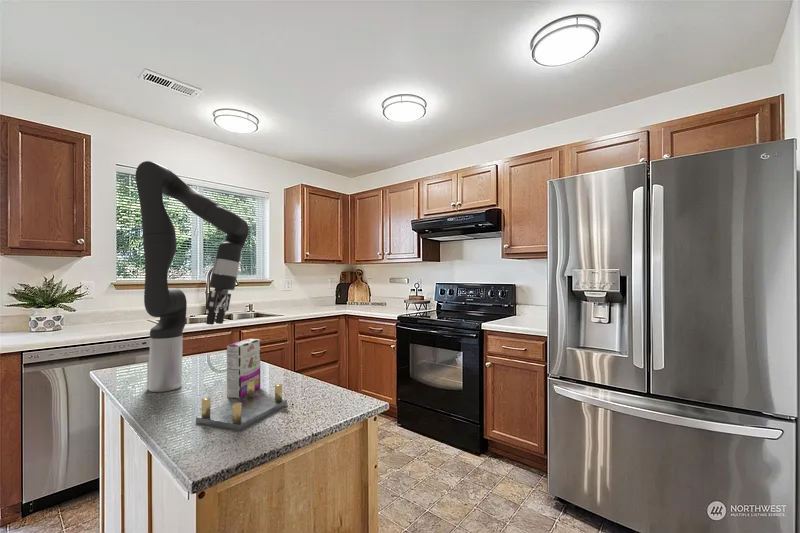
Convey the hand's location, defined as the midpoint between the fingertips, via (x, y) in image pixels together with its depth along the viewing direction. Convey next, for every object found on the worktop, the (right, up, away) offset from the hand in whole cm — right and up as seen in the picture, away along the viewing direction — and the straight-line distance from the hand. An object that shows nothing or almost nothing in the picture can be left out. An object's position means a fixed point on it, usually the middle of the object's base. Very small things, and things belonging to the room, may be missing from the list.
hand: (214, 324), depth 116 cm
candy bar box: (+9, -22, 0) cm, 24 cm away
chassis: (+17, -22, -18) cm, 33 cm away
